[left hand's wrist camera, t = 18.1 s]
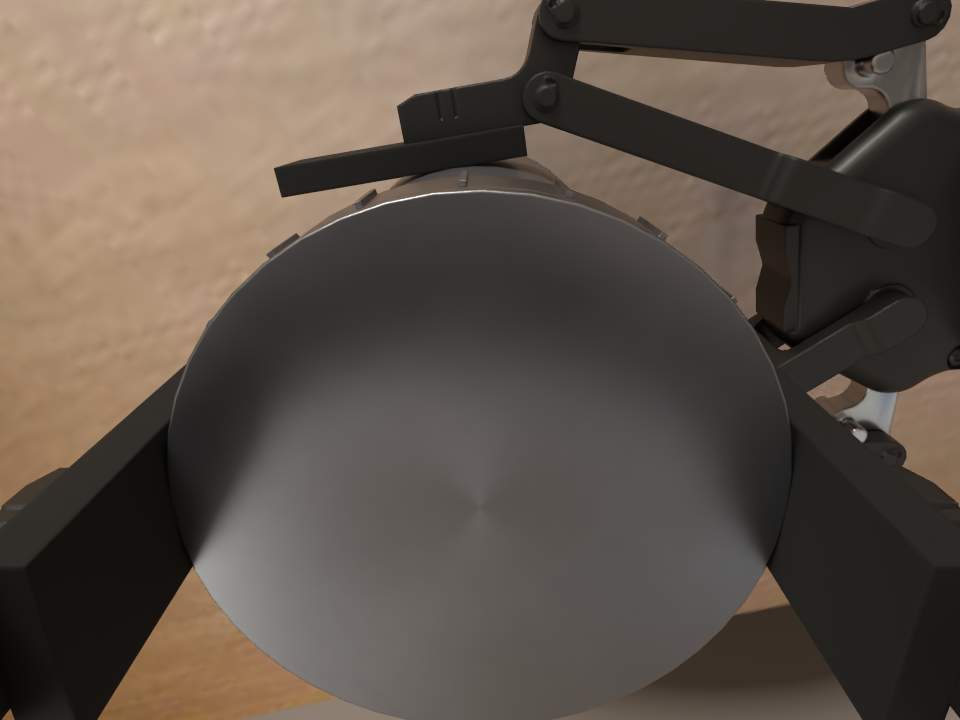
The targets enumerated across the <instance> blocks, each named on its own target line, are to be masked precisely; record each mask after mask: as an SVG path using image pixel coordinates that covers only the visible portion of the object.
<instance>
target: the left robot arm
mask: <svg viewBox="0 0 960 720" xmlns="http://www.w3.org/2000/svg"><path fill="white" fill-rule="evenodd" d="M773 365H774V364H773ZM185 367H186V365H185V366H184V367H182V368H181V369H180V370H179V371H178V372H177V373H176V374H174V375H173V376H172V377H171V378H170V379H169V380H168V381H167V382H165V383H164V384H163V385H162V386H161V387H160V388H159V389H158V390H156V391H155V392H154V393H153V394H152V395H151V396H150V397H148V398H147V399H146V400H145V401H144V402H143V403H142V404H141V405H139V406H138V407H137V408H136V409H135V410H134V411H133V412H131V413H130V414H129V415H128V416H127V417H126V418H125V419H124V420H122V421H121V422H120V423H119V424H118V425H117V426H116V427H114V428H113V429H112V430H111V431H110V432H109V433H108V434H107V435H105V436H104V437H103V438H102V439H101V440H100V441H99V442H97V443H96V444H95V445H94V446H93V447H92V448H91V449H90V450H88V451H87V452H86V453H85V454H84V455H83V456H82V457H81V458H79V459H78V460H77V461H76V462H75V463H74V464H73V465H71V466H70V467H69V468H59V469H57V470H55V471H53V472H51V473H49V474H47V475H45V476H43V477H42V478H40V479H38V480H36V481H34V482H32V483H30V484H28V485H26V486H25V487H24V488H23V489H22V490H20V491H19V492H18V493H17V494H16V495H14V496H13V497H12V498H11V499H10V500H8V501H7V502H6V503H5V504H4V505H2V509H1V510H0V720H2V718H3V717H4V716H5V714H6V713H7V712H8V711H9V709H10V708H11V711H12V714H13V716H14V719H15V720H97V719H98V718H99V716H100V714H101V713H102V711H103V709H104V708H105V706H106V705H107V703H108V701H109V700H110V698H111V697H112V695H113V693H114V692H115V690H116V689H117V687H118V685H119V684H120V682H121V681H122V679H123V677H124V676H125V674H126V673H127V671H128V669H129V668H130V666H131V664H132V663H133V661H134V660H135V658H136V656H137V655H138V653H139V652H140V650H141V648H142V647H143V645H144V644H145V642H146V640H147V639H148V637H149V636H150V634H151V632H152V631H153V629H154V628H155V626H156V624H157V623H158V621H159V619H160V618H161V616H162V615H163V613H164V611H165V610H166V608H167V607H168V605H169V603H170V602H171V600H172V599H173V597H174V595H175V594H176V592H177V591H178V589H179V587H180V586H181V584H182V583H183V581H184V579H185V578H186V576H187V574H188V573H189V571H190V570H191V568H192V566H193V565H192V563H191V560H190V558H189V556H188V554H187V551H186V549H185V547H184V545H183V542H182V540H181V538H180V534H179V531H178V527H177V523H176V519H175V515H174V510H173V506H172V501H171V496H170V491H169V483H168V475H167V446H168V430H169V425H170V419H171V414H172V409H173V403H174V398H175V395H176V392H177V389H178V386H179V383H180V381H181V378H182V375H183V372H184V370H185ZM774 368H775V371H776V374H777V377H778V380H779V383H780V386H781V389H782V392H783V395H784V397H785V400H786V405H787V411H788V417H789V423H790V429H791V435H792V480H791V487H790V494H789V499H788V504H787V509H786V514H785V518H784V522H783V525H782V529H781V532H780V535H779V539H778V542H777V544H776V546H775V548H774V551H773V553H772V555H771V557H770V559H769V561H768V564H767V567H768V569H769V570H770V572H771V573H772V575H773V577H774V578H775V580H776V582H777V583H778V585H779V586H780V588H781V590H782V591H783V593H784V594H785V596H786V598H787V599H788V601H789V602H790V604H791V606H792V607H793V609H794V610H795V612H796V614H797V615H798V617H799V618H800V620H801V622H802V623H803V625H804V626H805V628H806V630H807V631H808V633H809V635H810V636H811V638H812V639H813V641H814V643H815V644H816V646H817V647H818V649H819V651H820V652H821V654H822V655H823V657H824V659H825V660H826V662H827V663H828V665H829V667H830V668H831V670H832V672H833V673H834V675H835V676H836V678H837V680H838V681H839V683H840V684H841V686H842V688H843V689H844V691H845V692H846V694H847V696H848V697H849V699H850V700H851V702H852V704H853V705H854V707H855V709H856V710H857V712H858V713H859V715H860V717H861V718H862V720H945V717H946V715H947V712H948V709H949V707H950V706H951V708H952V709H953V710H954V711H955V713H956V714H957V715H958V716H959V718H960V508H959V506H958V503H957V502H956V501H955V500H954V499H952V498H951V497H950V496H949V495H948V494H946V493H945V492H944V491H943V490H942V489H940V488H939V487H938V486H937V485H936V484H934V483H933V482H931V481H929V480H927V479H925V478H923V477H921V476H919V475H917V474H915V473H913V472H911V471H910V470H908V469H906V468H904V467H902V466H888V465H887V464H886V463H885V462H884V461H882V460H881V459H880V458H879V457H878V456H877V455H876V454H875V453H873V452H872V451H871V450H870V449H869V448H868V447H867V446H865V445H864V444H863V443H862V442H861V441H860V440H859V439H858V438H856V437H855V436H854V435H853V434H852V433H851V432H850V431H849V430H847V429H846V428H845V427H844V426H843V425H842V424H841V423H839V422H838V421H837V420H836V419H835V418H834V417H833V416H832V415H830V414H829V413H828V412H827V411H826V410H825V409H824V408H822V407H821V406H820V405H819V404H818V403H817V402H816V401H815V400H813V399H812V398H811V397H810V396H809V395H808V394H807V393H806V392H804V391H803V390H802V389H801V388H800V387H799V386H798V385H796V384H795V383H794V382H793V381H792V380H791V379H790V378H789V377H787V376H786V375H785V374H784V373H783V372H782V371H781V370H779V369H778V368H777V367H776V366H775V365H774Z"/></svg>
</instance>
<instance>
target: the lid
mask: <svg viewBox="0 0 960 720" xmlns="http://www.w3.org/2000/svg"><path fill="white" fill-rule="evenodd" d="M667 236H668V235H666V234H665V233H664V232H662V231H661V230H659V229H658V228H656V227H655V226H653V225H652V224H651V223H649V222H648V221H646V220H645V219H643V218H642V217H639V219H638V220H635V219H634V218H632V217H630V216H628V215H626V214H624V213H622V212H621V211H619V210H617V209H615V208H613V207H611V206H609V205H607V204H606V203H604V202H602V201H600V200H597V199H594V198H592V197H589V196H586V195H583V194H581V193H578V192H575V191H573V190H570V189H569V188H568V187H567V186H566V185H565V184H564V183H563V182H562V181H558V180H556V181H555V184H554V185H552V184H547V183H542V182H538V181H533V180H528V179H524V178H512V177H499V176H486V175H478V176H468V171H461V173H460V177H444V178H437V179H432V180H427V181H422V182H417V183H412V184H407V185H402V186H399V187H396V188H393V189H390V190H387V191H384V192H381V193H379V194H377V192H376V190H375V189H373V190H370V191H369V192H367V193H366V194H365V195H363V196H362V197H361V198H360V199H358V200H357V201H356V202H354V204H352V205H350V206H348V207H346V208H344V209H342V210H341V211H339V212H337V213H335V214H333V215H331V216H329V217H327V218H326V219H325V220H323V221H322V222H320V223H319V224H318V225H316V226H315V227H313V228H312V229H310V230H309V231H308V232H306V233H305V234H303V235H302V236H300V237H299V235H298V234H297V233H296V234H294V235H293V236H291V237H290V238H288V239H287V240H285V241H284V242H283V243H281V244H280V245H278V246H277V247H275V248H274V249H272V250H271V251H270V252H269V253H267V254H266V255H267V256H268V257H269V258H270V259H269V260H268V261H266V262H265V263H263V264H262V265H261V266H260V267H259V268H258V269H257V270H256V271H255V272H254V273H253V274H252V275H251V276H250V277H249V278H248V279H247V280H246V281H244V282H243V283H242V284H241V285H240V286H239V287H238V288H237V289H236V290H235V291H234V292H233V293H232V294H231V295H230V297H229V298H228V299H227V300H226V302H225V303H224V304H223V306H222V307H221V308H220V310H219V311H218V312H217V313H216V315H215V316H214V317H213V318H212V319H211V320H210V321H209V322H208V323H207V325H206V328H205V330H204V332H203V334H202V336H201V337H200V339H199V341H198V343H197V345H196V347H195V348H194V350H193V352H192V354H191V356H190V357H189V359H188V361H187V364H186V367H185V370H184V372H183V375H182V378H181V381H180V383H179V386H178V389H177V392H176V395H175V398H174V403H173V409H172V414H171V419H170V425H169V430H168V446H167V475H168V483H169V491H170V496H171V501H172V506H173V510H174V515H175V519H176V523H177V527H178V531H179V534H180V538H181V540H182V542H183V545H184V547H185V549H186V551H187V554H188V556H189V558H190V560H191V563H192V565H193V567H194V569H195V571H196V573H197V574H198V576H199V578H200V579H201V581H202V582H203V584H204V586H205V587H206V589H207V591H208V592H209V594H210V595H211V597H212V599H213V600H214V601H215V602H216V603H217V605H218V606H219V607H220V608H221V610H222V611H223V612H224V613H225V615H226V616H227V617H228V618H229V620H230V621H231V622H232V623H233V624H234V625H235V626H236V627H237V628H238V629H239V630H240V631H241V632H242V633H243V634H244V635H245V636H246V637H247V638H248V639H249V640H250V641H251V642H252V643H253V644H254V645H255V646H256V647H257V648H259V649H260V650H261V651H262V652H264V653H265V654H266V655H268V656H269V657H270V658H272V659H273V660H274V661H275V662H277V663H278V664H279V665H281V666H282V667H283V668H285V669H286V670H288V671H290V672H291V673H293V674H294V675H296V676H298V677H299V678H301V679H303V680H304V681H306V682H308V683H309V684H311V685H313V686H314V687H317V688H319V689H321V690H323V691H325V692H327V693H329V694H331V695H334V696H336V697H338V698H340V699H342V700H344V701H347V702H350V703H353V704H355V705H358V706H361V707H364V708H367V709H369V710H372V711H375V712H379V713H383V714H387V715H391V716H395V717H399V718H403V719H407V720H552V719H557V718H561V717H565V716H569V715H574V714H578V713H581V712H584V711H587V710H590V709H593V708H596V707H599V706H602V705H605V704H608V703H610V702H613V701H615V700H617V699H619V698H622V697H624V696H626V695H628V694H631V693H633V692H635V691H637V690H639V689H642V688H643V687H645V686H647V685H648V684H650V683H652V682H653V681H655V680H657V679H659V678H660V677H662V676H664V675H665V674H667V673H669V672H671V671H672V670H673V669H675V668H676V667H677V666H679V665H680V664H681V663H683V662H684V661H685V660H687V659H688V658H690V657H691V656H692V655H693V654H695V653H696V652H698V651H699V650H700V649H701V648H702V647H703V646H704V645H705V644H706V643H707V642H708V641H709V640H711V639H712V638H713V637H714V636H715V635H716V634H717V633H718V632H719V631H720V630H721V629H722V628H723V627H724V626H725V625H726V624H727V622H728V621H729V620H730V619H731V618H732V616H733V615H734V614H735V613H736V612H737V610H738V609H739V608H740V607H741V606H742V604H743V603H744V602H745V601H746V599H747V597H748V596H749V594H750V593H751V591H752V590H753V588H754V587H755V585H756V583H757V582H758V580H759V579H760V577H761V576H762V574H763V572H764V570H765V568H766V566H767V564H768V561H769V559H770V557H771V555H772V553H773V551H774V548H775V546H776V544H777V542H778V539H779V535H780V532H781V529H782V525H783V522H784V518H785V514H786V509H787V504H788V499H789V494H790V487H791V480H792V435H791V429H790V423H789V417H788V411H787V405H786V400H785V397H784V395H783V392H782V389H781V386H780V383H779V380H778V377H777V374H776V371H775V368H774V365H773V363H772V361H771V359H770V357H769V356H768V354H767V352H766V350H765V348H764V346H763V344H762V342H761V340H760V338H759V336H758V335H757V333H756V331H755V329H754V328H753V327H752V325H751V324H750V323H749V321H748V320H747V319H746V317H745V316H744V314H743V313H742V312H741V310H740V309H739V308H738V306H737V305H736V304H735V303H737V300H736V299H735V298H734V297H733V296H732V295H731V294H729V293H728V292H727V291H725V290H724V289H723V288H721V287H720V286H719V285H718V284H717V283H716V282H715V281H714V280H713V279H712V278H711V277H710V276H709V275H708V274H707V273H706V272H705V271H704V270H703V269H702V268H701V267H699V266H698V265H697V264H695V263H694V262H692V261H691V260H690V259H688V258H687V257H686V256H684V255H683V254H682V253H680V252H679V251H678V250H676V249H675V248H673V247H672V246H671V245H669V244H668V243H667V242H665V241H664V240H665V239H666V238H667Z"/></svg>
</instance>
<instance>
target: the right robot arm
mask: <svg viewBox="0 0 960 720" xmlns="http://www.w3.org/2000/svg"><path fill="white" fill-rule="evenodd" d="M951 7H952V5H951V0H871V1H867V2H864V3H860V4H857V5H854V6H850V7H838V6H826V5H815V4H803V3H791V2H779V1H767V0H542V1H541V3H540V5H539V6H538V8H537V10H536V12H535V13H534V17H533V21H532V29H531V34H530V40H529V45H528V50H527V55H526V58H525V61H524V64H523V65H522V67H521V69H520V70H519V71H518V72H517V73H516V74H514V75H513V76H511V77H508V78H505V79H500V80H494V81H489V82H483V83H477V84H472V85H466V86H460V87H455V88H449V89H444V90H438V91H432V92H427V93H421V94H415V95H413V96H412V97H410V98H409V99H407V100H406V101H404V102H403V103H401V104H400V105H398V106H397V109H398V114H399V119H400V124H401V129H402V134H403V139H404V142H402V143H396V144H390V145H384V146H379V147H373V148H367V149H361V150H355V151H350V152H344V153H338V154H332V155H327V156H321V157H315V158H309V159H303V160H299V161H296V162H293V163H289V164H286V165H283V166H280V167H276V168H274V171H275V174H276V178H277V182H278V185H279V189H280V193H281V196H282V197H288V196H294V195H300V194H306V193H312V192H318V191H324V190H330V189H335V188H341V187H347V186H353V185H359V184H365V183H371V182H377V181H383V180H388V179H394V178H400V177H406V176H412V175H418V174H424V173H430V172H436V171H442V170H447V169H452V168H459V167H465V166H471V165H477V164H483V163H489V162H495V161H501V160H506V159H512V158H518V157H524V156H527V150H526V142H525V135H524V127H523V126H526V125H532V124H538V123H542V124H545V125H548V126H551V127H554V128H557V129H560V130H563V131H565V132H568V133H571V134H574V135H577V136H580V137H583V138H586V139H588V140H591V141H594V142H597V143H600V144H603V145H606V146H609V147H611V148H614V149H617V150H620V151H623V152H626V153H629V154H631V155H634V156H637V157H640V158H643V159H646V160H649V161H652V162H654V163H657V164H660V165H663V166H666V167H669V168H672V169H675V170H677V171H680V172H683V173H686V174H689V175H692V176H695V177H698V178H700V179H703V180H706V181H709V182H712V183H715V184H718V185H720V186H723V187H726V188H729V189H732V190H735V191H737V192H740V193H743V194H746V195H749V196H752V197H755V198H758V199H760V200H763V201H766V202H767V204H766V207H765V209H764V213H763V214H759V215H756V242H757V245H758V249H759V252H760V256H761V259H762V269H761V272H760V276H759V280H758V283H757V287H756V312H757V313H758V314H756V315H755V316H753V317H752V318H750V319H748V321H749V323H750V324H751V325H752V327H753V328H754V329H755V331H756V333H757V335H758V336H759V338H760V340H761V342H762V344H763V346H764V348H765V350H766V352H767V354H768V356H769V357H770V359H771V361H772V363H773V364H774V365H775V366H776V367H777V368H778V369H779V370H781V371H782V372H783V373H784V374H785V375H786V376H787V377H789V378H790V379H791V380H792V381H793V382H794V383H795V384H796V385H798V386H799V387H800V388H801V389H802V390H803V391H804V392H806V393H807V392H808V391H810V390H812V389H813V388H815V387H817V386H818V385H820V384H822V383H824V382H825V381H827V380H829V379H830V378H832V377H834V376H835V375H837V374H841V375H843V376H845V377H847V378H849V379H851V383H850V385H849V387H848V388H847V389H846V390H845V391H844V392H843V393H841V394H839V395H837V396H834V397H830V398H827V397H825V396H820V397H818V398H816V399H815V401H816V402H817V403H818V404H819V405H820V406H821V407H822V408H824V409H825V410H826V411H827V412H828V413H829V414H830V415H832V416H833V417H834V418H835V419H836V420H837V421H838V422H839V423H841V424H842V425H843V426H844V427H845V428H846V429H847V430H849V431H850V432H851V433H852V434H853V435H854V436H855V437H856V438H858V439H859V440H860V441H861V442H862V443H863V444H864V445H865V446H867V447H868V448H869V449H870V450H871V451H872V452H873V453H875V454H876V455H877V456H878V457H879V458H880V459H881V460H882V461H884V462H885V463H886V464H887V465H888V466H902V465H903V464H904V462H905V460H906V450H905V448H904V447H903V446H902V445H901V444H900V443H899V442H897V441H896V440H895V439H894V438H892V437H891V436H890V430H891V426H892V421H893V417H894V412H895V407H896V403H897V398H898V393H899V392H901V391H904V390H907V389H909V388H911V387H913V386H915V385H917V384H918V383H920V382H921V381H923V380H925V379H927V378H929V377H930V376H933V375H935V374H937V373H940V372H943V371H946V370H954V369H960V108H952V107H949V106H946V105H944V104H942V103H940V102H938V101H935V100H931V99H927V90H926V43H925V41H926V40H928V39H930V38H932V37H934V36H936V35H937V34H938V33H939V32H940V31H941V30H942V29H943V28H944V27H945V25H946V23H947V21H948V19H949V17H950V13H951ZM579 51H588V52H601V53H613V54H625V55H638V56H650V57H662V58H675V59H687V60H699V61H711V62H724V63H736V64H748V65H761V66H773V67H799V66H808V65H817V64H825V67H824V72H825V75H826V76H827V79H828V81H829V82H830V84H831V85H833V86H834V87H835V88H838V89H854V90H857V91H860V92H861V93H862V94H863V95H864V96H865V97H866V99H867V101H868V106H869V108H868V109H867V110H865V111H864V112H863V113H862V114H860V115H859V116H858V117H857V118H856V119H855V120H854V121H852V122H851V123H850V124H849V125H848V126H847V127H846V128H845V129H843V130H842V131H841V132H840V133H839V134H838V135H837V136H835V137H834V138H833V139H832V140H831V141H830V142H829V143H828V144H826V145H825V146H824V147H823V148H822V149H821V150H820V151H818V152H817V153H816V154H815V155H814V156H813V157H812V158H811V159H809V160H808V161H805V160H802V159H799V158H796V157H793V156H789V155H786V154H782V153H779V152H776V151H773V150H770V149H767V148H764V147H762V146H759V145H756V144H753V143H750V142H748V141H745V140H742V139H739V138H737V137H734V136H731V135H728V134H725V133H723V132H720V131H717V130H714V129H711V128H709V127H706V126H703V125H700V124H698V123H695V122H692V121H689V120H686V119H684V118H681V117H678V116H675V115H672V114H670V113H667V112H664V111H661V110H659V109H656V108H653V107H650V106H647V105H645V104H642V103H639V102H636V101H633V100H631V99H628V98H625V97H622V96H620V95H617V94H614V93H611V92H608V91H606V90H603V89H600V88H597V87H594V86H592V85H589V84H586V83H583V82H581V81H578V80H575V79H573V75H574V70H575V66H576V61H577V57H578V52H579ZM783 344H786V345H788V346H789V347H790V348H791V349H788V350H779V349H778V347H780V346H782V345H783Z"/></svg>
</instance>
